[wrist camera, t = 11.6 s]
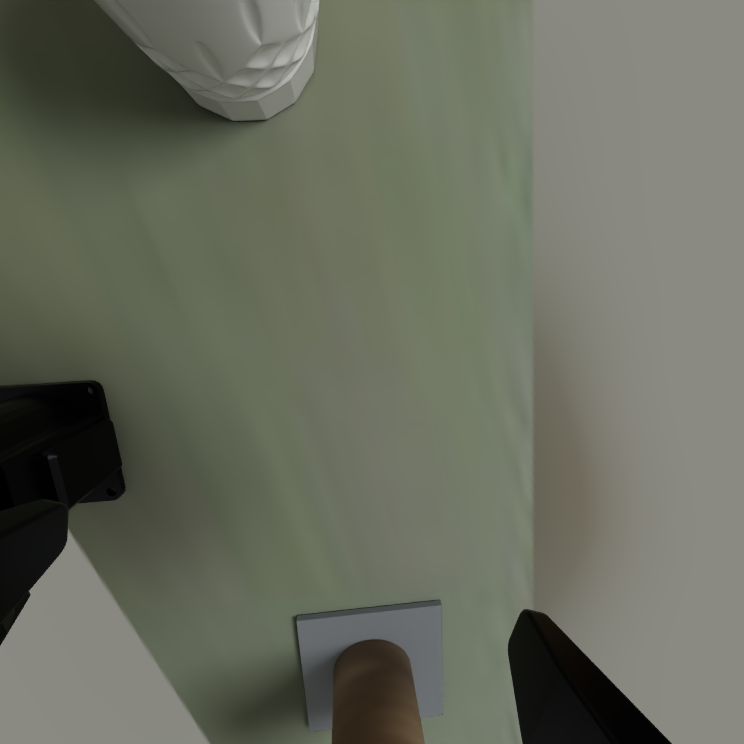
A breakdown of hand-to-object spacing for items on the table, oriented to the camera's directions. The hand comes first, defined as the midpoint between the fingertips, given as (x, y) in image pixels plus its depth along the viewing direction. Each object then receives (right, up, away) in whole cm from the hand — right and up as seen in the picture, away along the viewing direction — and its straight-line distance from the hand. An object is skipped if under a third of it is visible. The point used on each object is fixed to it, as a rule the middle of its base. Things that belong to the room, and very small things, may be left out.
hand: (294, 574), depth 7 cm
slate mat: (+2, -15, +17) cm, 23 cm away
